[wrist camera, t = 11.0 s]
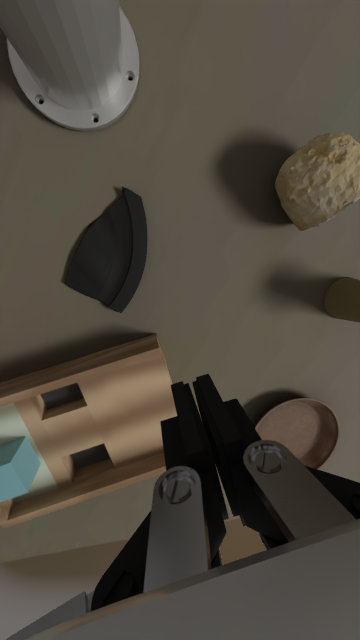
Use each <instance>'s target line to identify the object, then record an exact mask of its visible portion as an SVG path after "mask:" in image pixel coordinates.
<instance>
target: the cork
mask: <svg viewBox="0 0 360 640" xmlns="http://www.w3.org/2000/svg"><path fill="white" fill-rule="evenodd" d="M324 305H325V308H326V311H327V312H328V314H329V315H331V316H332V317H334V318H338V319H344V320H349V321H355V322H360V280H357V279H354V278H349V277H346V278H341V279H339V280H337V281H335V282H334V283H333V284H332V285H331V286H330V287H329V289H328V290H327V292H326V295H325V300H324Z"/></svg>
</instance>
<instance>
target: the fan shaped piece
mask: <svg viewBox="0 0 360 640" xmlns="http://www.w3.org/2000/svg"><path fill="white" fill-rule="evenodd" d="M122 189H123V196H122V197H121V198H120V199H119V200H118V201H117V202H116V203H115V204H114V205H113V206H112V207H111V208H109V209H108V210H107V212H106V213H105V214H104V215H102V216H101V217H100V218H99V219H97V220H96V221H95V222H93V223H92V224H90V225H89V226H88V228H87V230H86V233H85V234H84V236H83V238H82V240H81V243H80V245H79V247H78V249H77V251H76V253H75V255H74V258H73V260H72V263H71V265H70V269H69V272H68V275H67V278H66V281H65V284H67V285H68V286H70V287H71V288H73V289H74V290H76V291H78V292H80V293H82V294H84V295H87V296H89V297H92V298H94V299H97V300H100V301H102V302H103V303H105V304H106V305H107V306H108V307H110V308H111V309H113V310H114V311H116V312H120V313H121V312H122V311H123V310H124V309H125V308H126V306H127V305H128V303H129V302H130V300H131V299H132V297H133V295H134V293H135V291H136V289H137V287H138V285H139V283H140V280H141V277H142V274H143V271H144V267H145V261H146V254H147V224H146V217H145V212H144V207H143V203H142V199H141V197H140V196H138V195H137V194H135V193H134V192H132V191H131V190H129V189H127V188H124V187H122Z"/></svg>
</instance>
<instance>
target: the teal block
mask: <svg viewBox="0 0 360 640" xmlns="http://www.w3.org/2000/svg"><path fill="white" fill-rule="evenodd" d="M40 465H41V463H40V461H39V459H38V457H37V455H36V454H35V452H34V450H33V448H32V446H31V445H30V443H29V441H28V439H27V437H23V438H20V439H17V440H14V441H11V442H8V443H5V444H2V445H0V502H3V501H5V500H8V499H11V498H14V497H17V496H20V495H22V494H25V493H28V491H29V489H30V487H31V485H32V482H33V480H34V478H35V476H36V474H37V471H38V469H39V467H40Z"/></svg>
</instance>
